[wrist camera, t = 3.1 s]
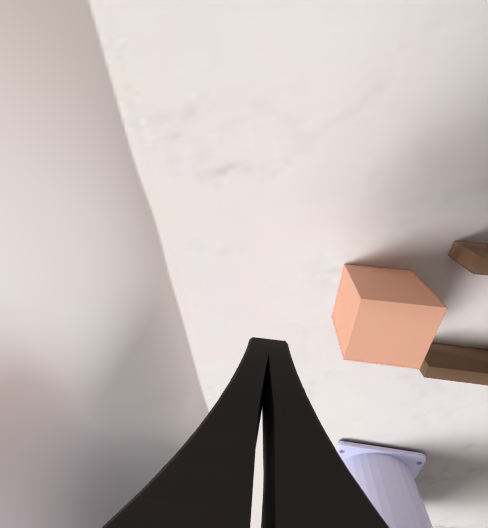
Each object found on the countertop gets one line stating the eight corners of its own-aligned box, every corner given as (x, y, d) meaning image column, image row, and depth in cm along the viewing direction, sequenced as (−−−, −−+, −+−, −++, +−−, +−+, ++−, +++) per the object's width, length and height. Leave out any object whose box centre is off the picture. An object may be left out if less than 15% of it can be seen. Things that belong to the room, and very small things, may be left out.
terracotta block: (392, 323, 20) (419, 369, 16) (331, 316, 21) (343, 359, 17) (411, 269, 18) (447, 307, 14) (343, 263, 19) (361, 298, 15)
